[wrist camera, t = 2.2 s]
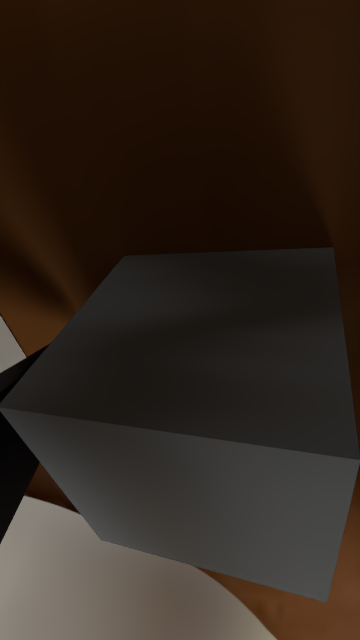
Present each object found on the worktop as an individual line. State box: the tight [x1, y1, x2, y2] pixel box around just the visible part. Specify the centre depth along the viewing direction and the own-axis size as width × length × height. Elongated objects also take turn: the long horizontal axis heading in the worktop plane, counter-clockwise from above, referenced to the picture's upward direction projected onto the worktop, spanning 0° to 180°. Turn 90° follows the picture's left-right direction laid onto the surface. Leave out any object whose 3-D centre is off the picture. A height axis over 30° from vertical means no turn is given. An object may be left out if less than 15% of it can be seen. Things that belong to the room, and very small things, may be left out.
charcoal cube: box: [0, 247, 360, 603], centre depth 8 cm, size 5×5×5 cm
